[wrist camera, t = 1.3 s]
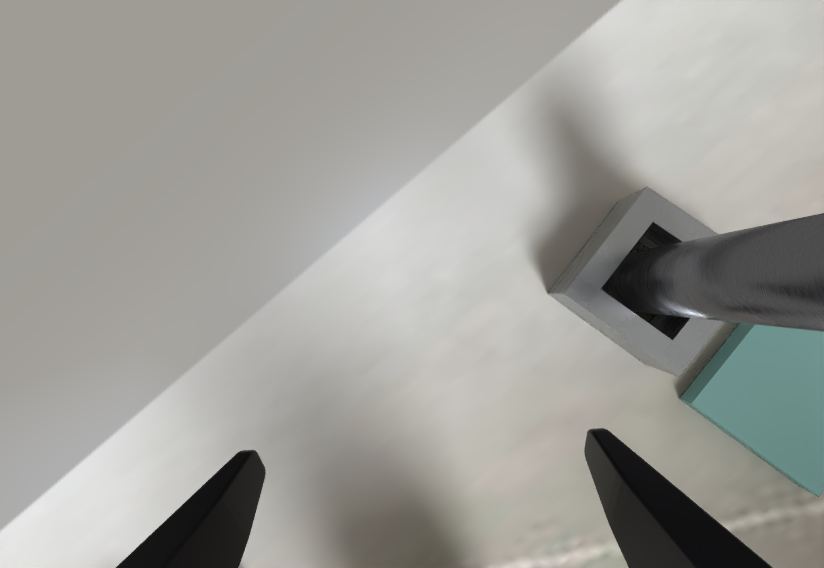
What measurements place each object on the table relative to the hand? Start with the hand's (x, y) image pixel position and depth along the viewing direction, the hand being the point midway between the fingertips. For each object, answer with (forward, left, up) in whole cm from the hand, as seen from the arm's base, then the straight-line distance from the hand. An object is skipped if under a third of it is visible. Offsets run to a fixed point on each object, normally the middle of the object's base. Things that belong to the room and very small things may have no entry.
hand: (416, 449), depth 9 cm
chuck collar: (-8, -12, -14) cm, 20 cm away
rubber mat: (-19, -12, -14) cm, 27 cm away
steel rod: (-8, -12, -14) cm, 20 cm away
